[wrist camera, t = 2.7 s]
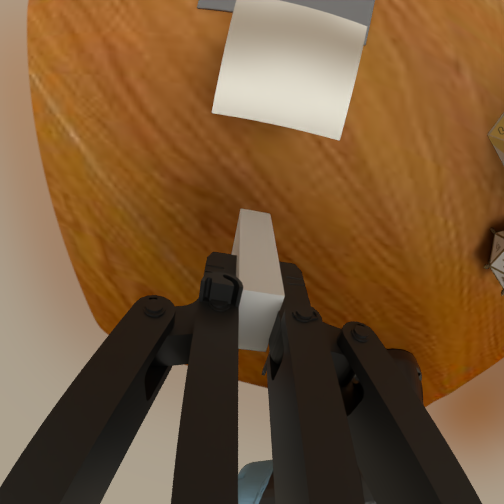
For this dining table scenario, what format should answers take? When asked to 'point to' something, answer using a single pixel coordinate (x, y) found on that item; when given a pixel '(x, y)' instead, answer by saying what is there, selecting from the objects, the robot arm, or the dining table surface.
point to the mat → (337, 3)
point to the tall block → (289, 66)
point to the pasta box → (498, 137)
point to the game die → (497, 257)
